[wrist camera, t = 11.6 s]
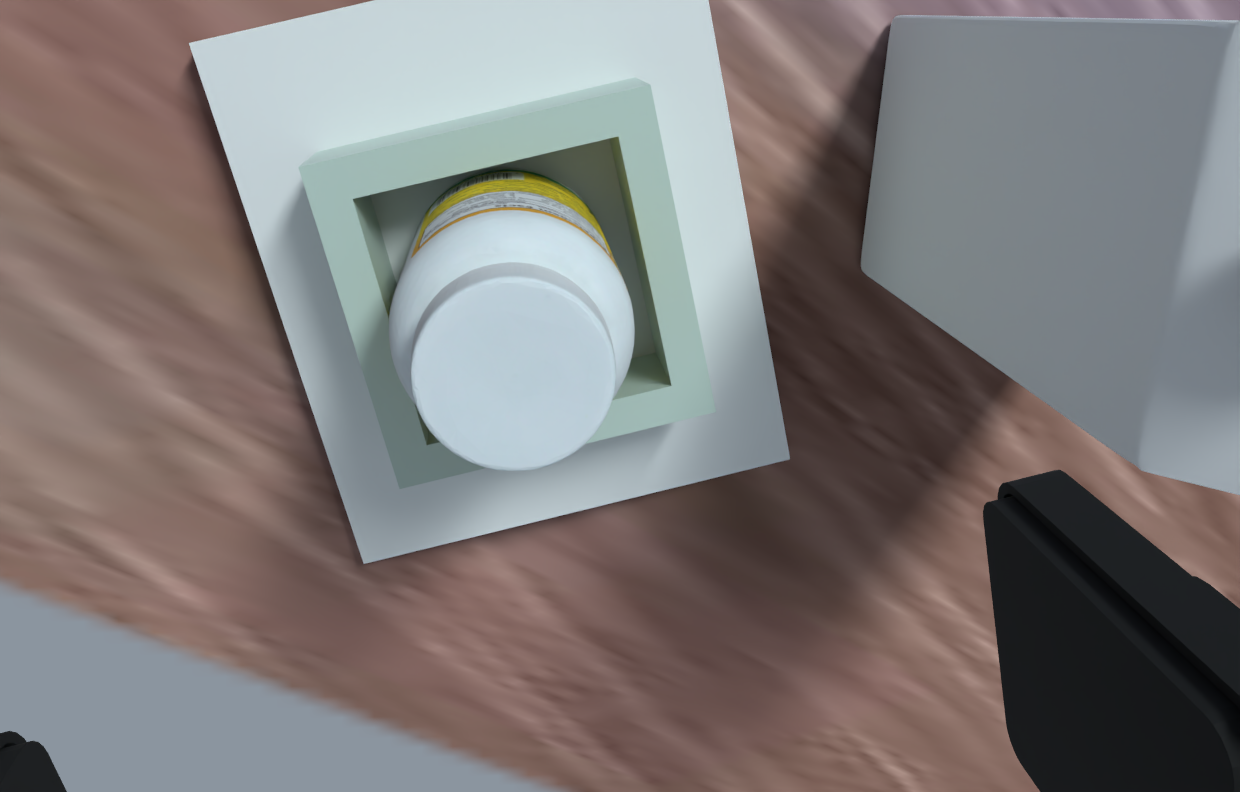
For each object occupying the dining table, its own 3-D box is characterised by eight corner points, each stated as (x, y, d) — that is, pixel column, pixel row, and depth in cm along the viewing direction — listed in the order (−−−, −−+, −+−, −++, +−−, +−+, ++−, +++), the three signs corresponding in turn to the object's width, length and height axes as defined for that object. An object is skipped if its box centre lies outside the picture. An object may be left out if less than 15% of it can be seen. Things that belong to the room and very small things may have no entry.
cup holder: (198, 42, 29) (154, 46, 25) (688, -71, 29) (717, -83, 25) (367, 548, 34) (351, 615, 30) (782, 447, 34) (817, 500, 30)
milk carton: (1133, 29, 31) (1990, 57, 13) (1085, 278, 34) (1761, 585, 16) (888, 14, 30) (1454, 23, 13) (856, 270, 33) (1295, 586, 15)
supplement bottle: (466, 128, 29) (453, 184, 20) (643, 224, 30) (704, 318, 21) (376, 305, 30) (326, 433, 21) (550, 390, 32) (571, 544, 23)
